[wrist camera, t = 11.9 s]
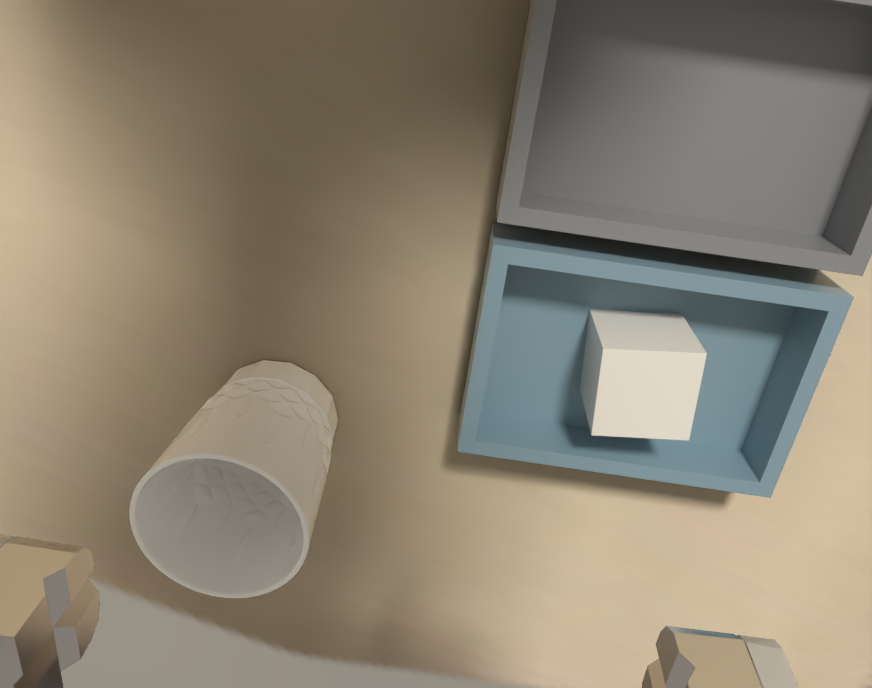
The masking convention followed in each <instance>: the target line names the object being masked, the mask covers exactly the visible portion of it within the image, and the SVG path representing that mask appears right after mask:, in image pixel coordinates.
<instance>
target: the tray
mask: <svg viewBox="0 0 872 688" xmlns="http://www.w3.org/2000/svg"><path fill="white" fill-rule="evenodd" d="M496 210H497V223H504V224H511V225H518V226H525V227H531V228H538V229H545V230H552V231H559V232H566V233H572V234H579V235H586V236H593V237H600V238H607V239H613V240H620V241H627V242H634V243H641V244H647V245H654V246H661V247H668V248H675V249H682V250H688V251H695V252H702V253H709V254H716V255H723V256H729V257H736V258H743V259H750V260H757V261H763V262H770V263H777V264H784V265H791V266H798V267H804V268H811V269H818V270H825V271H832V272H839V273H845V274H852V275H859V276H863V274H864V271H865V269H866V266H867V264H868V262H869V259H870V257H871V254H872V0H531V1H530V7H529V13H528V18H527V24H526V30H525V36H524V42H523V48H522V54H521V59H520V65H519V71H518V77H517V83H516V89H515V95H514V100H513V106H512V112H511V118H510V124H509V130H508V136H507V141H506V147H505V153H504V159H503V165H502V171H501V177H500V182H499V188H498V194H497V200H496Z"/></svg>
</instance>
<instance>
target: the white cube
mask: <svg viewBox="0 0 872 688" xmlns="http://www.w3.org/2000/svg"><path fill="white" fill-rule="evenodd" d="M706 356H707V353H706V351H705V350H704V348H703V346H702V345H701V343H700V342H699V340H698V339H697V337H696V335H695V334H694V332H693V331H692V329H691V328H690V326H689V324H688V323H687V321H686V320H685V318H684V317H683V315H682V314H681V313H659V312H636V311H614V310H591V309H590V311H589V319H588V327H587V336H586V344H585V352H584V360H583V368H582V376H581V384H580V391H581V395H582V399H583V403H584V408H585V412H586V416H587V420H588V424H589V428H590V432H591V435H594V436H613V437H632V438H651V439H670V440H689V438H690V434H691V429H692V424H693V419H694V414H695V409H696V404H697V399H698V395H699V390H700V385H701V380H702V375H703V370H704V365H705V361H706Z"/></svg>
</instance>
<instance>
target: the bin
mask: <svg viewBox="0 0 872 688" xmlns="http://www.w3.org/2000/svg"><path fill="white" fill-rule="evenodd" d="M853 298H854V297H853V296H851V295H850V294H849V293H848V292H846V291H845V290H844V289H843V288H841V287H840V286H839V285H838V284H836V283H835V282H834V281H833V280H831V279H830V278H829V277H827V276H826V275H825V274H824V273H822V272H821V271H819V270H812V269H805V268H798V267H792V266H785V265H778V264H771V263H764V262H758V261H751V260H744V259H737V258H730V257H723V256H717V255H710V254H703V253H696V252H689V251H682V250H676V249H669V248H662V247H655V246H648V245H642V244H635V243H628V242H621V241H614V240H607V239H601V238H594V237H587V236H580V235H573V234H566V233H560V232H553V231H546V230H539V229H532V228H525V227H519V226H512V225H505V224H498V223H492V229H491V235H490V241H489V247H488V253H487V259H486V265H485V270H484V276H483V282H482V288H481V294H480V300H479V306H478V311H477V317H476V323H475V329H474V335H473V341H472V347H471V352H470V358H469V364H468V370H467V376H466V382H465V388H464V393H463V399H462V405H461V411H460V418H459V434H458V450H457V452H462V453H469V454H476V455H483V456H490V457H496V458H503V459H510V460H517V461H524V462H531V463H537V464H544V465H551V466H558V467H565V468H571V469H578V470H585V471H592V472H599V473H606V474H612V475H619V476H626V477H633V478H640V479H646V480H653V481H660V482H667V483H674V484H681V485H687V486H694V487H701V488H708V489H715V490H721V491H728V492H735V493H742V494H749V495H756V496H762V497H769V498H771V495H772V493H773V491H774V488H775V486H776V483H777V481H778V479H779V476H780V474H781V471H782V469H783V467H784V464H785V462H786V459H787V457H788V454H789V452H790V450H791V447H792V445H793V442H794V440H795V438H796V435H797V433H798V430H799V428H800V426H801V423H802V421H803V418H804V416H805V413H806V411H807V409H808V406H809V404H810V401H811V399H812V397H813V394H814V392H815V389H816V387H817V385H818V382H819V380H820V377H821V375H822V373H823V370H824V368H825V365H826V363H827V360H828V358H829V356H830V353H831V351H832V348H833V346H834V344H835V341H836V339H837V336H838V334H839V332H840V329H841V327H842V324H843V322H844V319H845V317H846V315H847V312H848V310H849V307H850V305H851V303H852V300H853ZM590 309H591V310H614V311H636V312H659V313H681V314H682V315H683V317H684V318H685V320H686V321H687V323H688V324H689V326H690V328H691V329H692V331H693V332H694V334H695V335H696V337H697V339H698V340H699V342H700V343H701V345H702V346H703V348H704V350H705V351H706V353H707V356H706V361H705V365H704V370H703V375H702V380H701V385H700V390H699V395H698V399H697V404H696V409H695V414H694V419H693V424H692V429H691V434H690V438H689V440H670V439H651V438H632V437H613V436H594V435H591V432H590V428H589V424H588V420H587V416H586V412H585V408H584V403H583V399H582V395H581V391H580V384H581V376H582V368H583V360H584V352H585V344H586V336H587V327H588V319H589V311H590Z"/></svg>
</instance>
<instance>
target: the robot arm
mask: <svg viewBox="0 0 872 688" xmlns="http://www.w3.org/2000/svg"><path fill="white" fill-rule="evenodd" d="M94 568H95V566H94V561H93V556H92V551H91V550H89V549H87V548H84V547H78V546H72V545H66V544H59V543H53V542H47V541H41V540H35V539H29V538H23V537H13V536H7V535H0V688H63V682H62V676H61V671H62V670H64V669H66V668H67V667H69V666H70V665H72V664H74V663H75V662H77V661H78V660H80V659H81V657H82V655H83V654H84V652H85V650H86V649H87V647H88V645H89V643H90V642H91V639H92V636H93V633H94V630H95V628H96V625H97V622H98V617H99V606H100V601H99V593H98V590H97V589H96V588H95V587H94V586H93V585H92V584H91V583H90V582H89V580H88V577H89V576H90V574H91V573H92V571H93V570H94ZM656 647H657V652H658V656H659V659H658V660H656V661H654V662H653V663H651V664H650V665H648V666H647V669H646V673H645V676H644V679H643V682H642V688H799V686H798V683H797V681H796V679H795V677H794V674H793V672H792V670H791V668H790V665H789V663H788V661H787V659H786V656H785V654H784V652H783V650H782V647H781V646H780V645H779V644H778V643H777V642H776V641H775V640H773V639H765V638H757V637H749V636H742V635H737V636H736V635H734V634H728V633H720V632H712V631H704V630H696V629H688V628H679V627H671V626H666V627H665V628H664V629H663V630H662V631H661V632H660V634H659V637H658V640H657V642H656Z"/></svg>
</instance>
